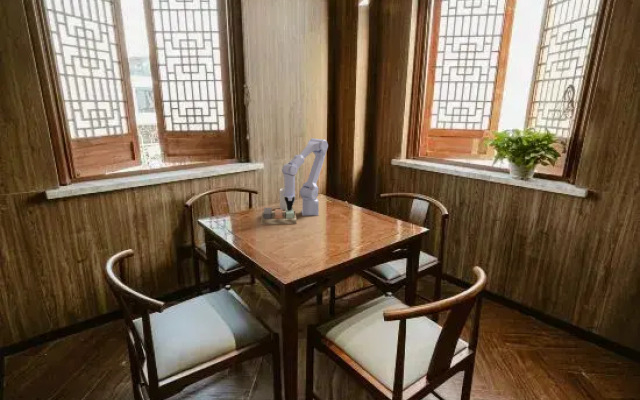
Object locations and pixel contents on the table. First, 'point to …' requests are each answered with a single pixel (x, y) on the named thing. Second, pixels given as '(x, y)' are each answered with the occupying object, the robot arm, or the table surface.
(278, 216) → the key terracotta
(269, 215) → the key charcoal
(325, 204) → the table surface
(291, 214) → the key celadon
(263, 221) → the board
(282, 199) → the mug
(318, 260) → the table surface
